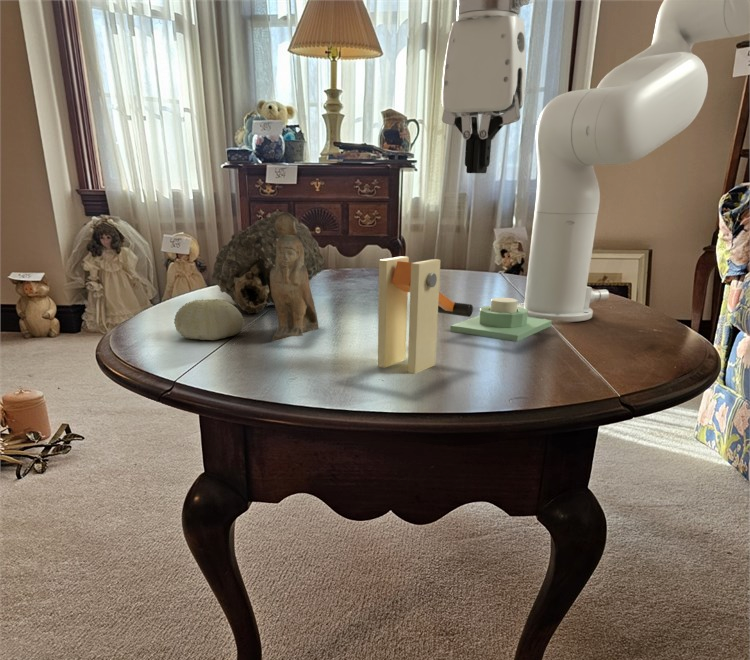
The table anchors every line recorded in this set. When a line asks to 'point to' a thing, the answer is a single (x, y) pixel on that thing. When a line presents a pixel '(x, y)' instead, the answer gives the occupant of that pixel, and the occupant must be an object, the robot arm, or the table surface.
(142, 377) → the table surface
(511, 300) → the button
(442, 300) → the lever
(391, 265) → the bracket
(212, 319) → the sea urchin shell
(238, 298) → the rock
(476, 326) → the button block
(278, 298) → the brown carved statuette
